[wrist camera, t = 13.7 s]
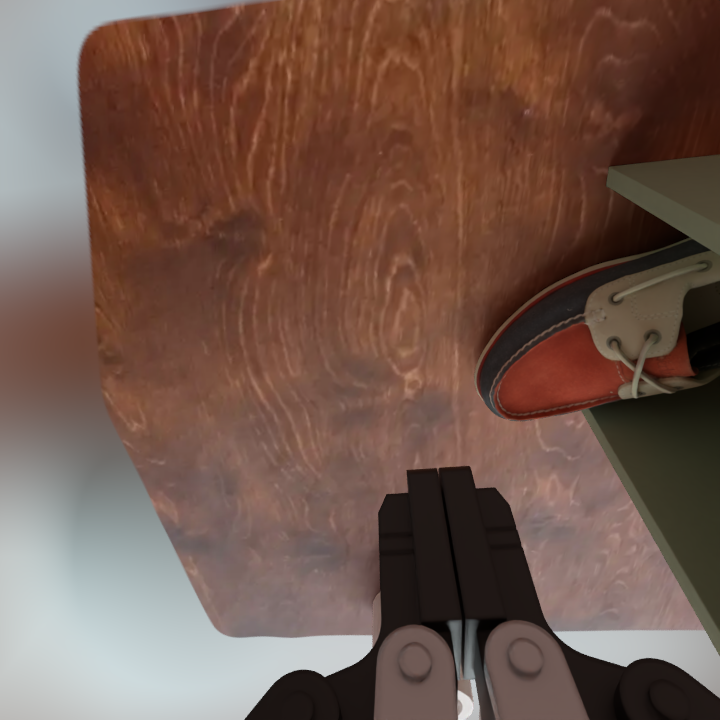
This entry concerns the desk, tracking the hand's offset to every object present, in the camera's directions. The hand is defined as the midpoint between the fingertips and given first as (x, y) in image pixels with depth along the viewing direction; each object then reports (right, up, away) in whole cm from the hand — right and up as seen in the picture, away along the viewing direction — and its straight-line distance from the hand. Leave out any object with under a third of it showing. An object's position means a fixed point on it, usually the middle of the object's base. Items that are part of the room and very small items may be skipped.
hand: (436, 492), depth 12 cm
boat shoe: (+19, +8, +24) cm, 32 cm away
